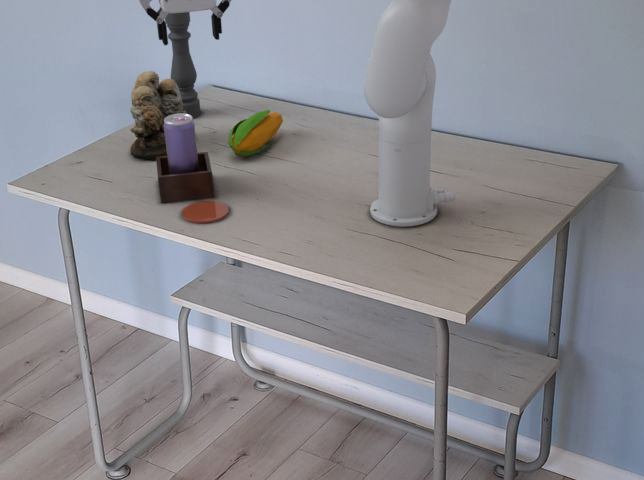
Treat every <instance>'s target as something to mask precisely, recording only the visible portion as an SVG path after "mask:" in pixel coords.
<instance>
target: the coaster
mask: <svg viewBox="0 0 644 480" xmlns="http://www.w3.org/2000/svg"><path fill="white" fill-rule="evenodd" d="M229 212H230V211H229V207H228V205H227V204H226V203H223V202H220V201H217V200H203V201H196V202H194V203H190V204H188V205H187V206H185V207H184V208H183V209H182V211H181V216H182V218H183V220H185V221H187V222H188V223H193V224H210V223H211V224H213V223H215V222H219V221H221V220H223V219H225V218H226V217H227V216H228V215H229Z"/></svg>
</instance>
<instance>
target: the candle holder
mask: <svg viewBox="0 0 644 480" xmlns="http://www.w3.org/2000/svg"><path fill="white" fill-rule="evenodd" d="M190 13H191V12H184V13H168V15H167V16H166V18H165V19H164V21H165V23H166V27H167V28H168V31H169V33H167V37H168V40H169V41H170V42H171V49H172V59H171V66H170V67H171V68H170V79H173V80H174V81H176V83H177V86H178V87H179V91H180V94H181V99H182V103H183V109H182V111H186V112H187V114H189V115H191V116H192V117H193V119H196V118H198V117H200V116H201V113H202V112H201V102H200V99H199V97H198V95H199V93H198V92H197V91H196V89H195V88H194V87H195V84H196V81H197V77H198V73H197V70H196V67H195V64H194V61H193V59H192V55H191V52H190V51H191V50H190V44H189V43H190V42H189V40H190V39H191V37H192V34H191V32H190V31H188V30H189V27H190V23H191V14H190Z"/></svg>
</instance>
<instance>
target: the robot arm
mask: <svg viewBox="0 0 644 480" xmlns="http://www.w3.org/2000/svg"><path fill="white" fill-rule="evenodd" d="M138 1H139V4H140V5H141V6H142V8H143V10H144V11H145V13H146V15H148V17H150V19H152V20H154V22H156V26H157V27H156V28H157V37H158V40H159V41H162V44H163V45H164V46H168V45H169V38H168V29H167V28H168V27H167V24H166V23H165V18H166V16H167V15H168V13H184V12H190V13H193V12H202V11H209V10H210V11H211V12H212V14H211V15H210V17H211V18H210V19H211V29H212V37H213V38H214V40H217V41H218V40H220V35H221V34H223V29H222V27H223V26H222V17H223V16H224V14H225V12H226V11H227V10H228V8H229V7H230V5H231V2H232V0H221V1H220V2H219V3H218V5H217V0H158V3H159V8H158V9H157V11H156V10H155V9H154V8H153V7H151V5H150V3H151V2H152V1H153V0H138ZM451 3H452V0H392V1H390V3H389V4H388V5H387V6H386V7H385V9H384V10H383V12H382V13H381V16H380V18H379V21H378V23H377V27H376V30H375V34H374V38H373V42H372V47H371V50H370V51H371V52H370V56H369V59H368V63H367V68H366V71H365V76H364V82H363V95H364V98H365V102H366V105H368V107H369V108H370V110H371V111H372V112H373V113H374V114H376V115H377V116H378V136H377V141H378V142H377V143H378V145H377V147H378V148H377V150H378V151H377V154H378V156H377V157H378V159H377V160H378V162H377V164H378V166H377V167H378V169H377V170H378V173H377V174H378V176H377V177H378V179H377V180H378V192H377V194H378V195H377V196H378V198H376V199H375V200H374V201H373V202H372V203H371V204H370V207H369V210H370V211H369V213H370V216H371V217H372V219H374V221H377V222H379V223H381V224H383V225H387V226H392V227H402V228H403V227H404V228H405V227H406V228H407V227H415V226H420V225H424V224H427V223H429V222H431V221H432V220H434V219H435V217H436V216H437V214H438V205H439V204H440V203H453V202H455V199H456V198H455V196H456V195H455V192H454V191H445V189H444V187H441V188H434V189H432V187H430V185H431V184H430V182H431V153H432V152H431V151H432V150H431V149H432V148H431V147H432V126H433V125H432V121H433V107H434V97H435V89H436V79H437V71H436V64H435V61H434V59H433V57H432V54H431V50H432V47H433V44H434V43H435V41H436V40H437V39H438V38H439V37H440V35H441V34H442V32H443V31H444V29H445V27H446V24H447V21H448V17H449V13H450V7H451Z"/></svg>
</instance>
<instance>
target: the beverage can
mask: <svg viewBox="0 0 644 480" xmlns="http://www.w3.org/2000/svg"><path fill="white" fill-rule="evenodd" d="M164 133H165V141H166V149H167V157H168V166H169V174H170V175H172V174H182V173H192V172H199V164H198V155H197V153H198V146H197V136H196V125H195V121H194V118H193V117H192V116H191V115H189V114H173V115H169V116H167V117H166V118H165V119H164Z"/></svg>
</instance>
